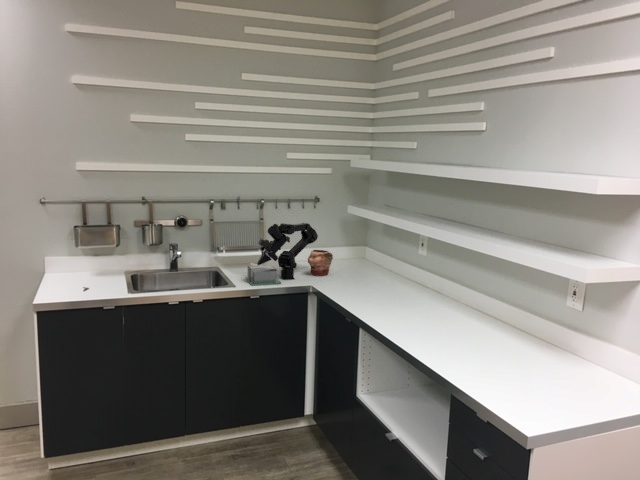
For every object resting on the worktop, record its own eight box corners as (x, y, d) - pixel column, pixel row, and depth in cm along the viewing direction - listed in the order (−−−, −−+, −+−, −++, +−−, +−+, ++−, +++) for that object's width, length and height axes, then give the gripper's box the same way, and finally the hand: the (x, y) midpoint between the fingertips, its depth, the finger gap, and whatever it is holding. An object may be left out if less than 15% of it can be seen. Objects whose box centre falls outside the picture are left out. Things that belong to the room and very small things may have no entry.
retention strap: (273, 268, 285) (273, 267, 285) (275, 269, 281) (275, 268, 281) (250, 263, 280) (250, 262, 280) (251, 265, 276) (252, 264, 276)
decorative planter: (322, 269, 315) (323, 247, 313) (338, 272, 308) (339, 249, 306) (302, 275, 299) (302, 251, 297) (319, 278, 292) (319, 254, 290)
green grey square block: (273, 277, 292) (273, 262, 290) (281, 284, 277) (281, 268, 276) (245, 278, 286) (245, 263, 285) (251, 285, 272) (251, 270, 270)
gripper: (263, 230, 287) (243, 251, 285) (272, 236, 269) (251, 258, 267) (276, 244, 291) (257, 264, 289) (286, 250, 274) (266, 272, 271)
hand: (257, 264), depth 279 cm, fingers closed, pressing on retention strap
